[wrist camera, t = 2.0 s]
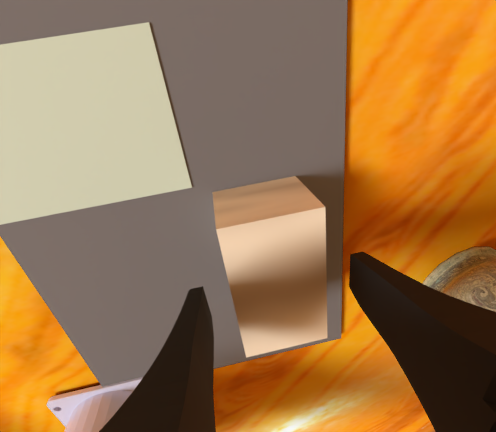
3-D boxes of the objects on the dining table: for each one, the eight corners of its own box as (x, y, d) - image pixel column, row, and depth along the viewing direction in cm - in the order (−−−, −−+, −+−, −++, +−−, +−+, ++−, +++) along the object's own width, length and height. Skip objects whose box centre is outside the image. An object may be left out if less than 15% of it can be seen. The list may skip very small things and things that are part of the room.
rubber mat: (338, 333, 22) (341, 339, 21) (109, 389, 20) (107, 395, 20) (345, -166, 10) (352, -177, 9) (-217, -104, 8) (-241, -115, 8)
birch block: (303, 288, 18) (327, 338, 15) (237, 302, 18) (246, 357, 14) (295, 176, 15) (325, 206, 11) (212, 192, 14) (216, 229, 11)
